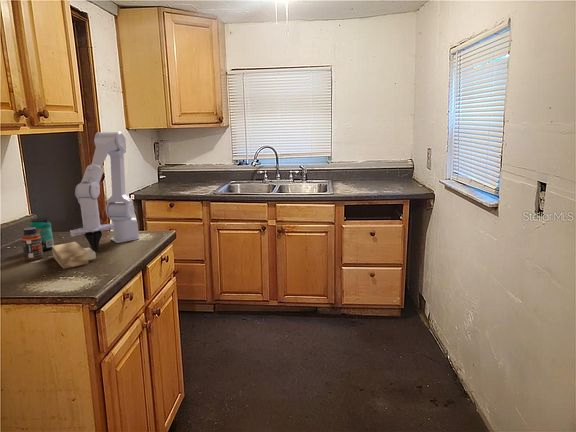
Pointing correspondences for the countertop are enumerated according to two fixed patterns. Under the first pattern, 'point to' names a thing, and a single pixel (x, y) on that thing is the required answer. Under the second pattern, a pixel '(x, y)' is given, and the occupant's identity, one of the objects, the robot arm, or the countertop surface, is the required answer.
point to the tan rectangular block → (69, 255)
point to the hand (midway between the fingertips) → (95, 251)
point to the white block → (90, 253)
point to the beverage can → (44, 232)
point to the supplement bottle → (32, 244)
